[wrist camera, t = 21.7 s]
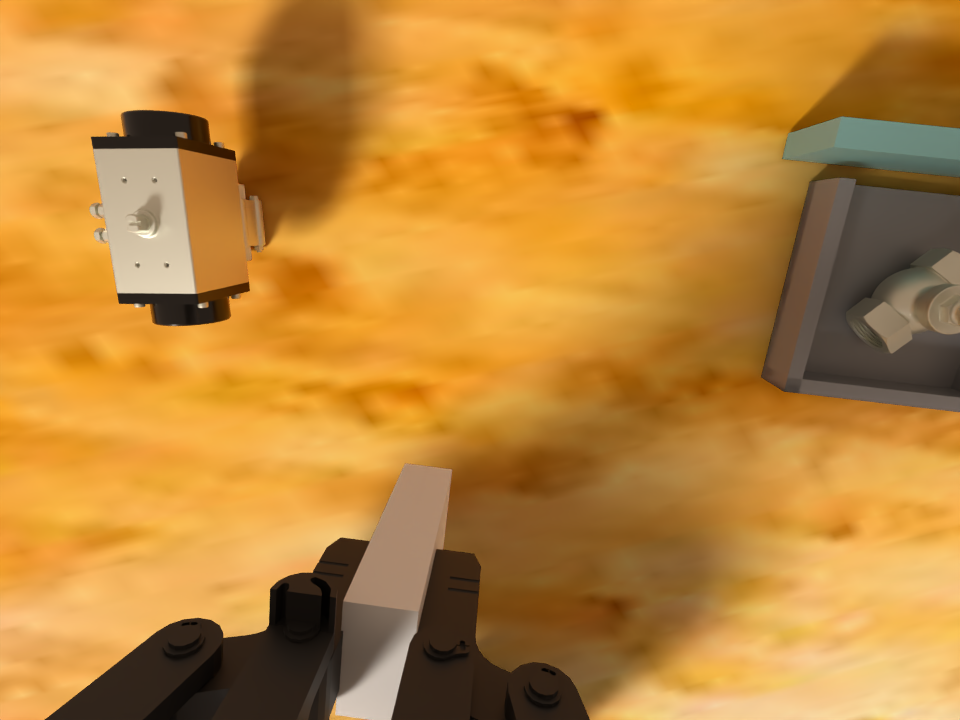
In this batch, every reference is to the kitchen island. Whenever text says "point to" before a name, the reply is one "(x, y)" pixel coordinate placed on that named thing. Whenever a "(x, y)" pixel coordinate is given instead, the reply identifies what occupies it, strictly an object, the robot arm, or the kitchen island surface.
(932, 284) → the valve
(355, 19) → the kitchen island surface
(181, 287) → the pneumatic valve
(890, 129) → the gate
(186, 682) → the robot arm
